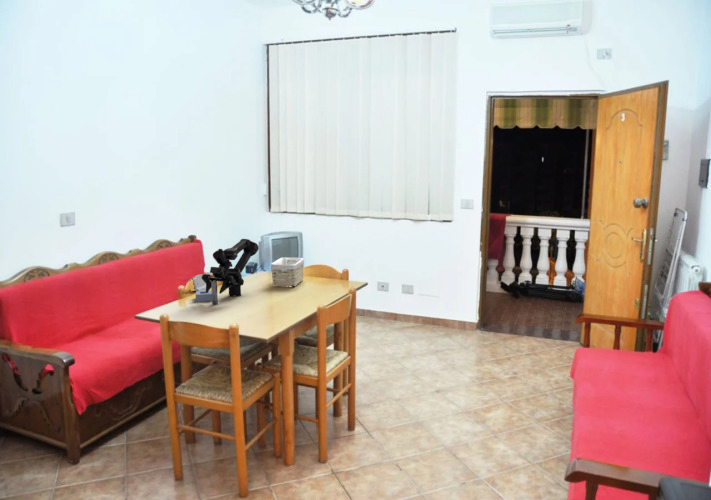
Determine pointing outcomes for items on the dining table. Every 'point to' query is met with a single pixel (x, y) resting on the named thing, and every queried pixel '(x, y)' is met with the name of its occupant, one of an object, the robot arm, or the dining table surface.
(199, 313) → the dining table surface
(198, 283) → the hinge
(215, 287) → the peg
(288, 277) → the storage basket
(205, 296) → the hole block
